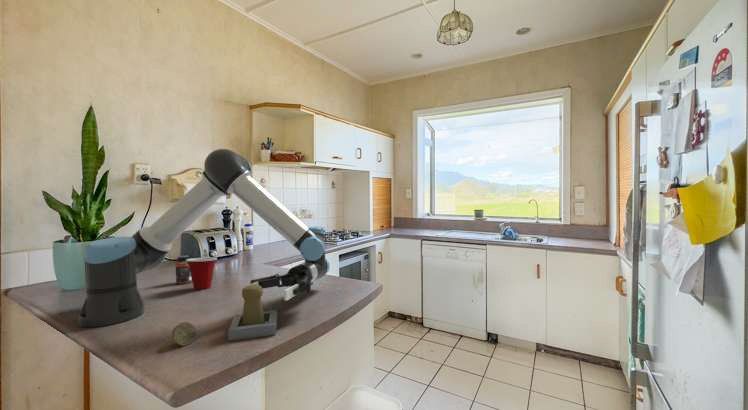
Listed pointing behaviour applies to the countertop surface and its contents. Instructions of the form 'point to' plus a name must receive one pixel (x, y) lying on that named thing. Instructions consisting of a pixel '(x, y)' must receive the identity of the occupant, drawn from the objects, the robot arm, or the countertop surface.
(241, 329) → the block
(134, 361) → the countertop surface
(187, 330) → the grey-green short cylinder
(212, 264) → the plastic cup
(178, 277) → the supplement bottle
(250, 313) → the cork
